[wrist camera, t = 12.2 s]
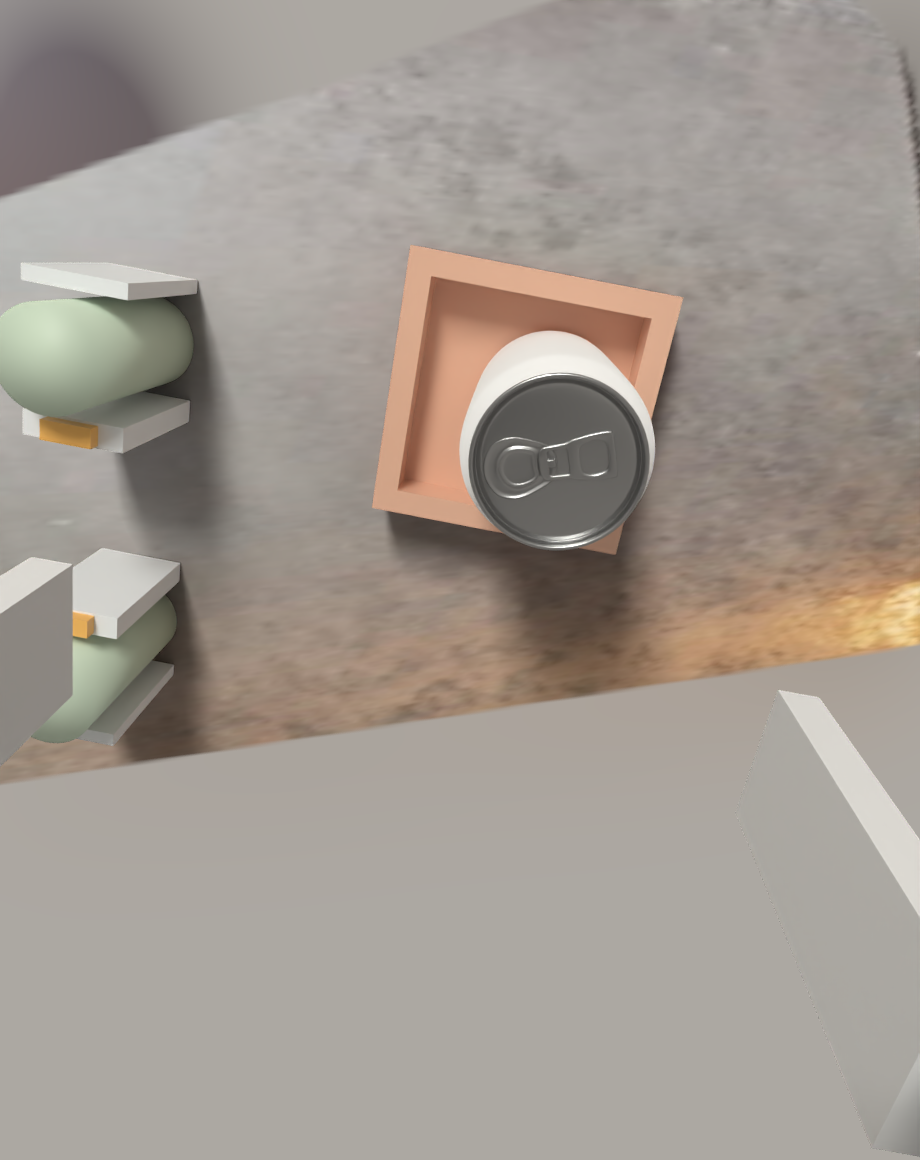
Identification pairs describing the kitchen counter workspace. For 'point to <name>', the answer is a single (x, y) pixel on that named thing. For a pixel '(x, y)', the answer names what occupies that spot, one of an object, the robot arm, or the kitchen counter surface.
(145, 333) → the green piece
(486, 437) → the can
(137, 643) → the peg
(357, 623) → the kitchen counter surface
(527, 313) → the tray
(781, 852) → the robot arm
